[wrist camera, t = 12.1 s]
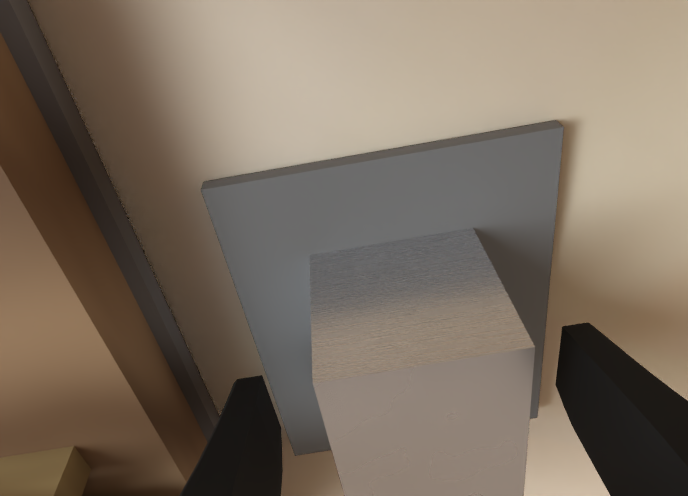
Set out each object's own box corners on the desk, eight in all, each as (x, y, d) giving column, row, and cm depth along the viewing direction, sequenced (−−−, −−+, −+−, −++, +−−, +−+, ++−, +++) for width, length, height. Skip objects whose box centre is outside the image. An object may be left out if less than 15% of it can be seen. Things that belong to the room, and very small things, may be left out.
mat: (532, 407, 17) (537, 417, 17) (295, 444, 17) (295, 455, 17) (555, 120, 11) (563, 126, 11) (203, 181, 12) (200, 189, 11)
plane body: (277, 541, 21) (271, 689, 17) (83, 571, 21) (35, 723, 17) (-31, -124, 8) (-315, -142, 5) (-495, -35, 9) (-1140, 23, 5)
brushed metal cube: (474, 368, 15) (523, 499, 12) (341, 390, 15) (352, 524, 12) (472, 227, 12) (534, 346, 9) (309, 255, 13) (312, 383, 9)
